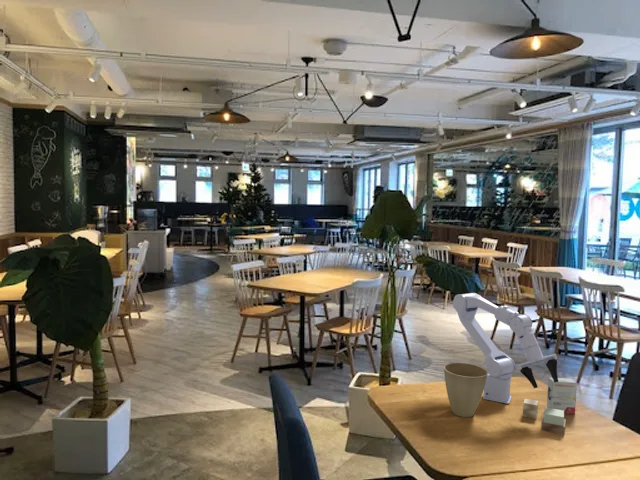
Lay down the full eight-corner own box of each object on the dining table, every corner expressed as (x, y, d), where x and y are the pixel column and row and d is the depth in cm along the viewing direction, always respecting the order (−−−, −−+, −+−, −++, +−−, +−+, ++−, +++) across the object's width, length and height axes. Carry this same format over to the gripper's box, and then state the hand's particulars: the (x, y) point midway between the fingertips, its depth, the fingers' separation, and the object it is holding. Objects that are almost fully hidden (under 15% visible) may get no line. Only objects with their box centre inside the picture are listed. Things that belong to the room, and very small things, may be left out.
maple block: (522, 416, 180) (523, 402, 180) (524, 411, 184) (524, 398, 184) (536, 419, 178) (537, 405, 177) (537, 414, 182) (538, 401, 181)
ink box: (570, 409, 187) (572, 378, 186) (575, 414, 182) (577, 382, 181) (545, 407, 188) (548, 376, 187) (550, 413, 183) (552, 381, 182)
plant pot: (438, 417, 177) (440, 372, 176) (445, 401, 191) (447, 360, 189) (483, 425, 171) (486, 379, 170) (486, 409, 185) (489, 366, 184)
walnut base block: (541, 430, 170) (541, 422, 169) (542, 423, 176) (543, 414, 175) (564, 436, 166) (564, 427, 166) (565, 427, 172) (565, 419, 172)
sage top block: (543, 422, 169) (544, 413, 169) (544, 415, 175) (544, 407, 174) (563, 426, 167) (564, 417, 166) (563, 419, 172) (563, 410, 172)
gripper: (515, 351, 180) (530, 389, 175) (553, 340, 180) (570, 378, 176) (509, 354, 186) (524, 391, 182) (546, 343, 187) (562, 379, 182)
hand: (546, 384), depth 179 cm, fingers open, 7 cm apart
